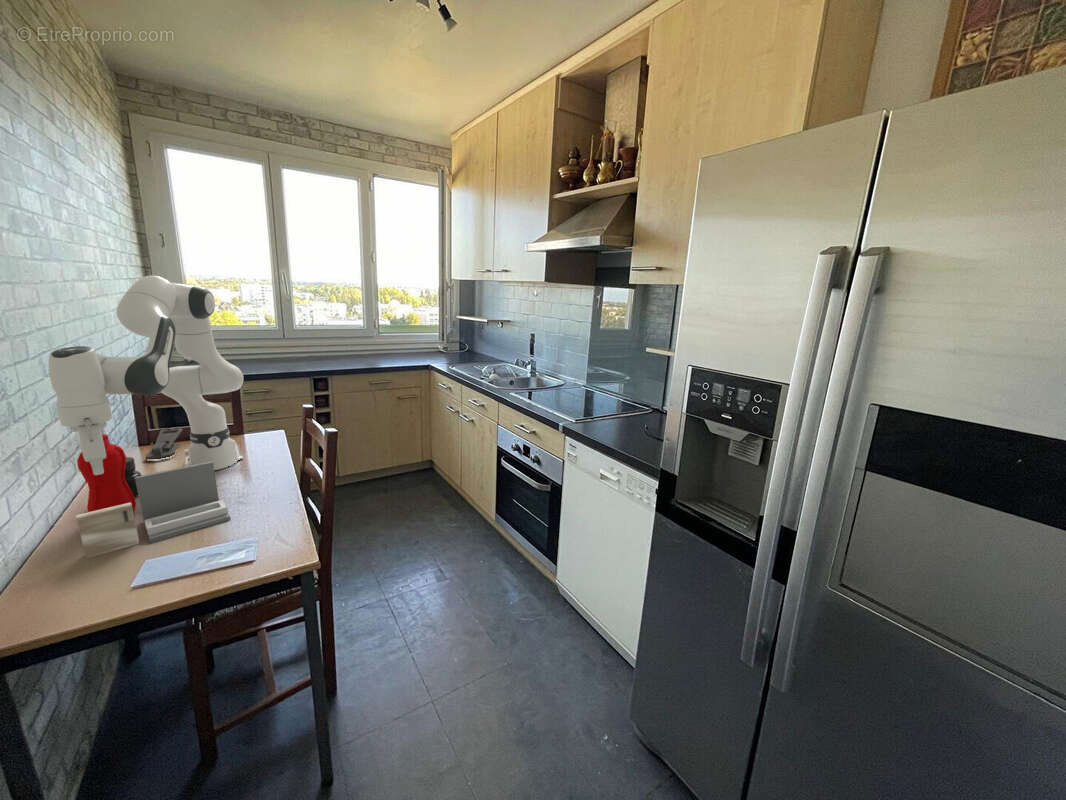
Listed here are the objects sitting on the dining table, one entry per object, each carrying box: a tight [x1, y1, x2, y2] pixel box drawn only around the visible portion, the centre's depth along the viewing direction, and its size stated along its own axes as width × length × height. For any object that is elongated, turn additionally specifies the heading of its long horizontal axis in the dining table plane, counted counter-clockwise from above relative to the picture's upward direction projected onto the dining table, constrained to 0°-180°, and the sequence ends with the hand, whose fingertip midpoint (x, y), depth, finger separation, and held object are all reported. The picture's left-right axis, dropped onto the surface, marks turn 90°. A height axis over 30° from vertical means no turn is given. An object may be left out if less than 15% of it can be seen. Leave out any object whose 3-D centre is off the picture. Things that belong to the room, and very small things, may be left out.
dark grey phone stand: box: [145, 427, 184, 460], centre depth 180 cm, size 9×7×25 cm
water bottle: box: [76, 433, 137, 513], centre depth 125 cm, size 9×11×25 cm
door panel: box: [76, 502, 140, 559], centre depth 111 cm, size 3×10×11 cm, turn 136°
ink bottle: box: [125, 456, 142, 498], centre depth 140 cm, size 10×9×12 cm
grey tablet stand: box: [135, 461, 231, 544], centre depth 125 cm, size 16×18×14 cm
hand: (97, 468), depth 107 cm, fingers open, 8 cm apart
